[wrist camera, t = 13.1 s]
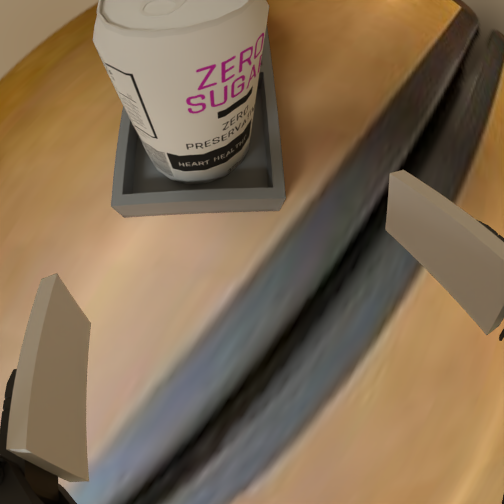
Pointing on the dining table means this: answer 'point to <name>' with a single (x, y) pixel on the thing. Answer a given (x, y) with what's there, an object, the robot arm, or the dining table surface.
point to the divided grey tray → (218, 191)
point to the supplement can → (186, 78)
